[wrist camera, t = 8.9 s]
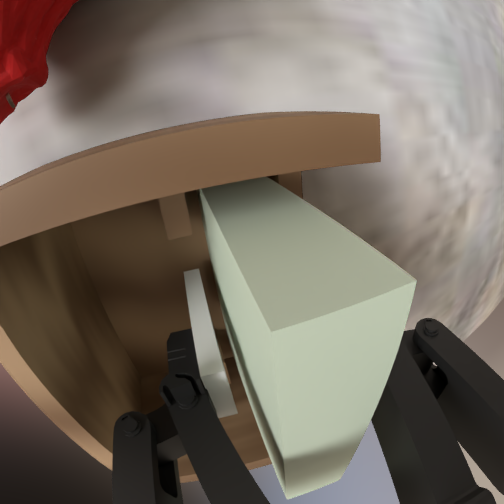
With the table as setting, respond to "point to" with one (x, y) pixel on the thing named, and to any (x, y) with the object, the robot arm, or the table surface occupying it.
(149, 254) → the cabinet
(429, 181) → the table surface
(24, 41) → the white and red lump
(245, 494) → the robot arm
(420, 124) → the table surface
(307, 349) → the door
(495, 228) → the table surface
